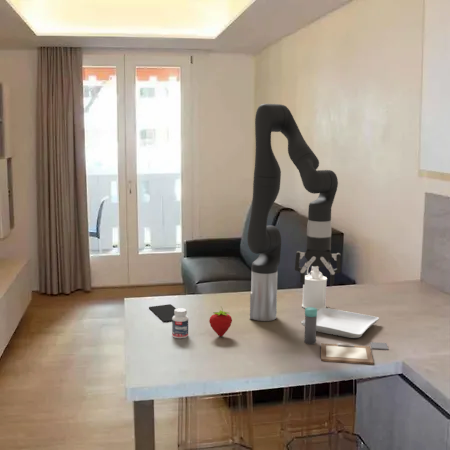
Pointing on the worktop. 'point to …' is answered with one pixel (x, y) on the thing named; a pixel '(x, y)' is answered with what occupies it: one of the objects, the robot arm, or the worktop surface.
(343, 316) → the salad plate
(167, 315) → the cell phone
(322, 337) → the worktop surface
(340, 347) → the clipboard
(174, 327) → the pill bottle
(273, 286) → the robot arm
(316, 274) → the white nozzle bottle
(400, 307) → the worktop surface
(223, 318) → the strawberry
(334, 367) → the worktop surface
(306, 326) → the marker
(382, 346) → the coaster
